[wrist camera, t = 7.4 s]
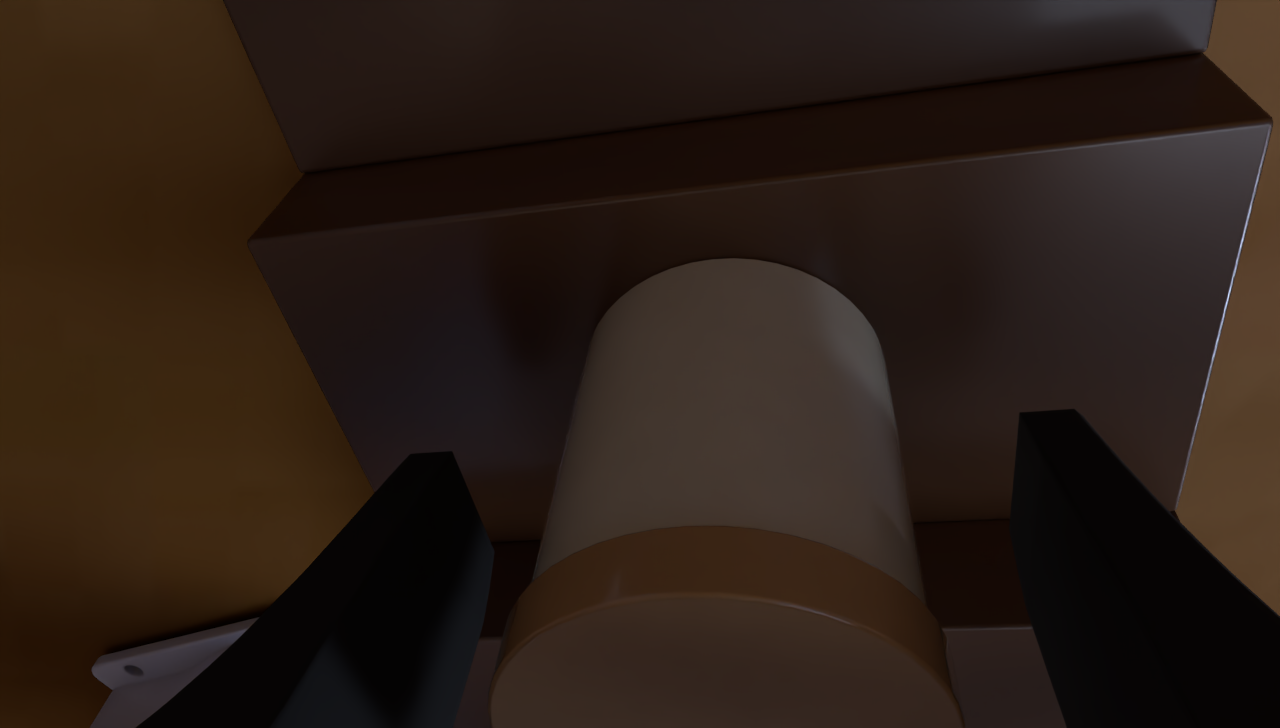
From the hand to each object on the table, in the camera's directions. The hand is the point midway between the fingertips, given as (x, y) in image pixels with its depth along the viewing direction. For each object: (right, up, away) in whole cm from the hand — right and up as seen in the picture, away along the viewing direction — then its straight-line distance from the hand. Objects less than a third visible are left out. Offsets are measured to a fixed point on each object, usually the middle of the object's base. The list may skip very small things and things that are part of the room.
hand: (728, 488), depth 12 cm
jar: (0, +1, +2) cm, 2 cm away
